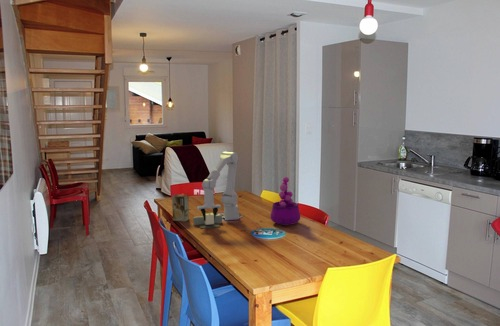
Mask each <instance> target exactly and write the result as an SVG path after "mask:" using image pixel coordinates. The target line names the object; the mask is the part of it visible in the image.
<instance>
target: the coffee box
mask: <svg viewBox="0 0 500 326" xmlns="http://www.w3.org/2000/svg"><path fill="white" fill-rule="evenodd" d="M171 197H172V198H171V203H172V204H171V207H172V221H176V222H187V221H188V220H190V214H189V213H190V209H189V208H190V207H189V205H190V204H189V194H188V195H187V194H174V195H172V196H171Z"/></svg>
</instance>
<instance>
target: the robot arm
mask: <svg viewBox="0 0 500 326" xmlns="http://www.w3.org/2000/svg"><path fill="white" fill-rule="evenodd" d="M238 160H239V154H237V152H236V151H235V152H233V151H231V152H230V151H222V152H221V154H220V155H219V161H218V163H217V164H216V167H215V168H214V169H212V170H211V171H210V173H209V175H208V176H207V177H206V178H205V179H204V180H203V181H202V183H201V187H202V188H203V189H202V190H203V194H204V195H203V197H204V198H203V200H204V203H203V205H197V206H196V210H197V211H200V212H201V214H202V216H203V217H204V221H206V217H205V215H206V213H207V212H206V210H211V209H212V213H213V214H214V220H215V216H216V215H217V214H218V211H219V209H222V205H223V216H224V218H225V220H224V221H232V220H233V221H234V220H240V218H239V215H240V212H239V211H240V210H239V205H238V199H239V198H238V193H237V192H236V191H235V185H236V178H237V177H236V176H237V167H238ZM226 165H227V175H226V178H227V179H226V186H225V190H224V191H223V192H222V196H221V197H220V201H221V204H215V200H214V199H215V196H214V193H215V190H214V189H215V188H216V184H217V181H218V179H219V177H220V176H221V171H222V170H223V168H224V167H225V166H226Z"/></svg>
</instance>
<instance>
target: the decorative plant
mask: <svg viewBox="0 0 500 326" xmlns="http://www.w3.org/2000/svg"><path fill="white" fill-rule="evenodd" d="M289 182H290V178H289V177H288V176H283V178H282V183H281V185H280V186H279V190H280V192H279V193H278V196H279V198H280V200H279V201H275V202H273V203H272V207H271V211H270V217H269V218H270V219H271V220H272V222H273V223H275V224H278V225H283V226H290V225H294V224H297V223H298V222H299V221H301V212H300V208H299V204H298V203H297V202H294V201H293V198H292V197H293V192H292V191H290V190H289V191H288V183H289Z"/></svg>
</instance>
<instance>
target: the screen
mask: <svg viewBox="0 0 500 326" xmlns="http://www.w3.org/2000/svg"><path fill="white" fill-rule="evenodd" d="M192 217H193V220H192V223H193V224H192V225H193V226H199V224H205V222H204V217H203V215H202V216H201V215H200V216H192ZM214 223H218V224H222V223H223V215H222V214H218V215H217V214H216V216H215V220H214Z"/></svg>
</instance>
